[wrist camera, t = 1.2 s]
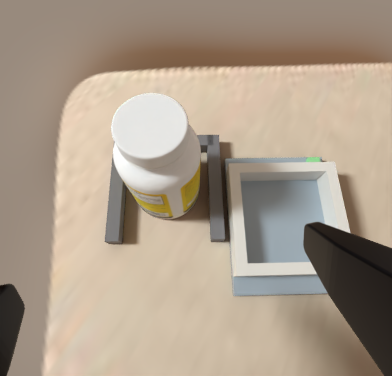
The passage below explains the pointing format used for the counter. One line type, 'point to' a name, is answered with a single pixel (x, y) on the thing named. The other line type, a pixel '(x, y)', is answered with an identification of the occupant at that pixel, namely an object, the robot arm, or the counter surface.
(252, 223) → the panel
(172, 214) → the supplement bottle
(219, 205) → the holster cradle
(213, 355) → the counter surface
